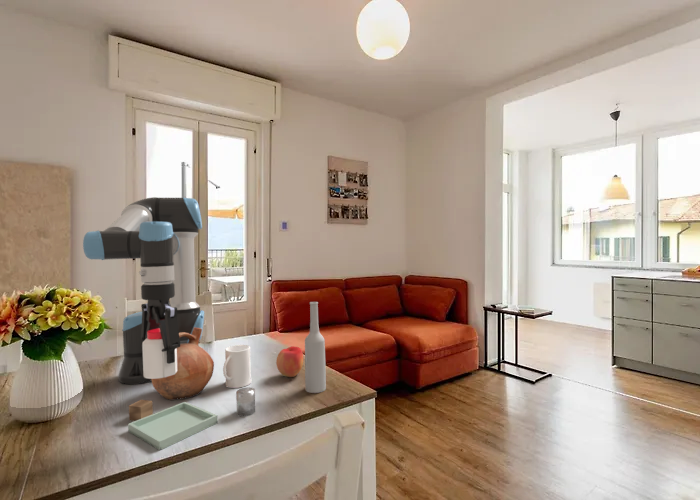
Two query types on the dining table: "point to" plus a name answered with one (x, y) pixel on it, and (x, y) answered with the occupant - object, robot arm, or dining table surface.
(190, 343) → the jug
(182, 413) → the tray
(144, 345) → the pill bottle
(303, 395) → the dining table surface
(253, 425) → the dining table surface
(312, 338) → the bottle
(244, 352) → the mug
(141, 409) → the walnut block
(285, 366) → the apple
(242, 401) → the grey tin
